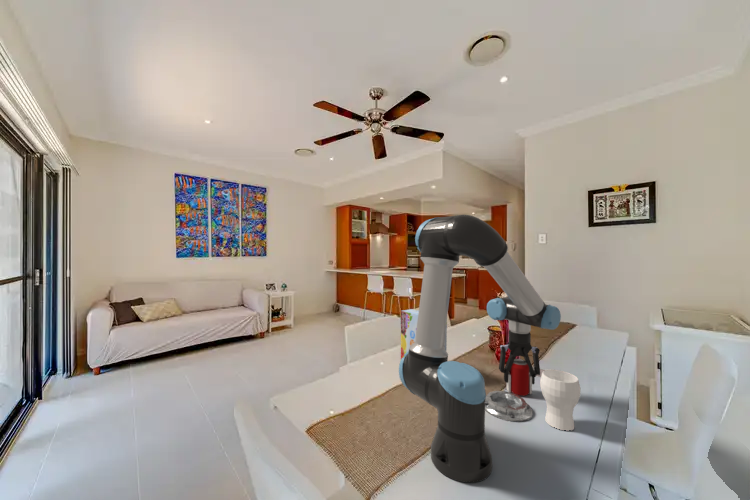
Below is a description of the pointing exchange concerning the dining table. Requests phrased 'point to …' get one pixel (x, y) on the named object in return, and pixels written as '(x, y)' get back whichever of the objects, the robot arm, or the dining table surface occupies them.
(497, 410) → the flange
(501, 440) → the dining table surface
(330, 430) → the dining table surface
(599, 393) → the dining table surface
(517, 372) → the beverage can
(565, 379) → the cup
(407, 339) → the snack box
